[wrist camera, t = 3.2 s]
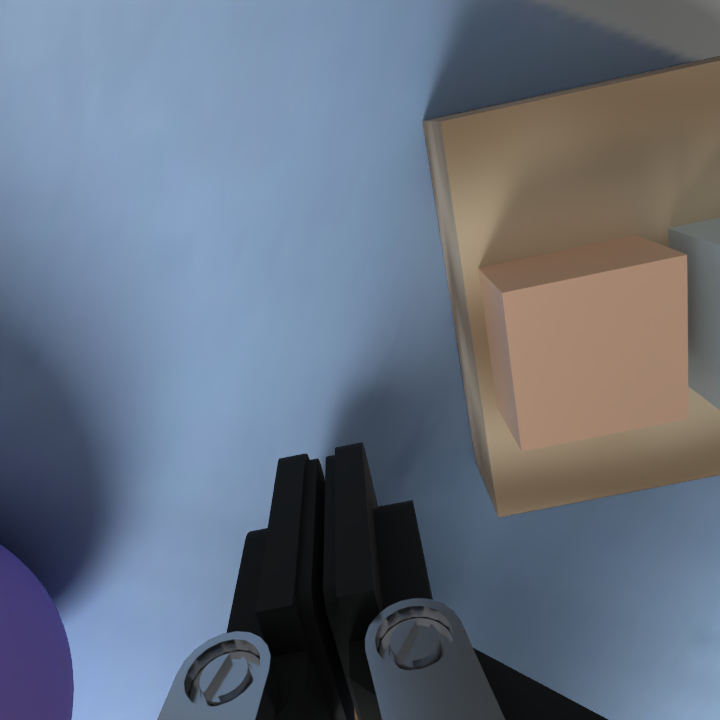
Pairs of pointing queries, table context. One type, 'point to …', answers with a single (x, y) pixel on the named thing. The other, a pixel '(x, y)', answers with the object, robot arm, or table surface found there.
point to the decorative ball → (31, 648)
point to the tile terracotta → (588, 340)
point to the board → (571, 230)
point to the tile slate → (702, 303)
